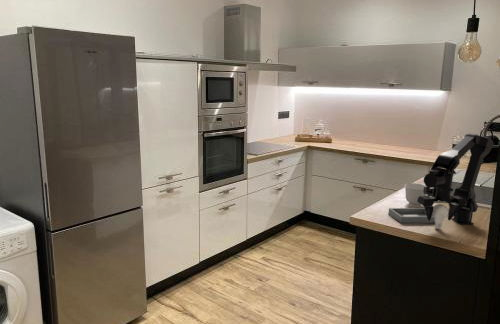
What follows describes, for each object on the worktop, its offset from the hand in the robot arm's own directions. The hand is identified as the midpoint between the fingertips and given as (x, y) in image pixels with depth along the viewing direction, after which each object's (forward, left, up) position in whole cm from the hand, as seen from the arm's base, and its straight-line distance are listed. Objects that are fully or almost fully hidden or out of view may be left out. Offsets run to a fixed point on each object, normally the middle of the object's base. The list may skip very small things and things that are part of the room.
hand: (439, 220), depth 165 cm
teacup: (-9, -32, -4) cm, 34 cm away
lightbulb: (0, 0, -4) cm, 4 cm away
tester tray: (+4, -13, -4) cm, 14 cm away
